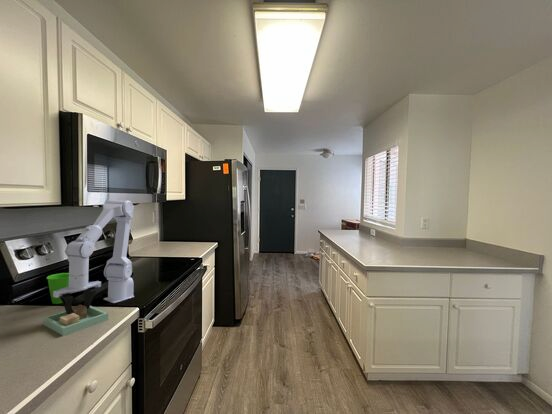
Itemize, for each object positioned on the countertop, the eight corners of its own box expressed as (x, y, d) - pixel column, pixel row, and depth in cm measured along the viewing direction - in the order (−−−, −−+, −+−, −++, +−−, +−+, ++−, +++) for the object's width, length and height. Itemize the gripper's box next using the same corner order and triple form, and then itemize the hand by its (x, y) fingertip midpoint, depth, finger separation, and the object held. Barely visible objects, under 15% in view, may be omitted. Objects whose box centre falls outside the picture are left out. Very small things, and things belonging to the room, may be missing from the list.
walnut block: (80, 315, 100) (81, 304, 100) (86, 317, 98) (86, 307, 98) (68, 319, 97) (68, 308, 97) (74, 321, 95) (74, 310, 95)
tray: (87, 312, 105) (87, 304, 104) (108, 321, 98) (108, 313, 98) (43, 326, 92) (43, 317, 92) (63, 337, 86) (63, 328, 85)
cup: (41, 302, 111) (42, 276, 111) (66, 296, 119) (67, 271, 119) (52, 307, 107) (52, 280, 107) (77, 300, 115) (78, 275, 115)
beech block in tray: (73, 324, 93) (73, 313, 93) (79, 327, 91) (79, 315, 91) (59, 328, 90) (59, 317, 90) (65, 332, 88) (65, 320, 88)
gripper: (94, 268, 105) (93, 302, 106) (49, 276, 93) (48, 315, 93) (104, 271, 102) (103, 306, 102) (59, 280, 89) (58, 320, 90)
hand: (77, 311), depth 97 cm, fingers open, 5 cm apart
